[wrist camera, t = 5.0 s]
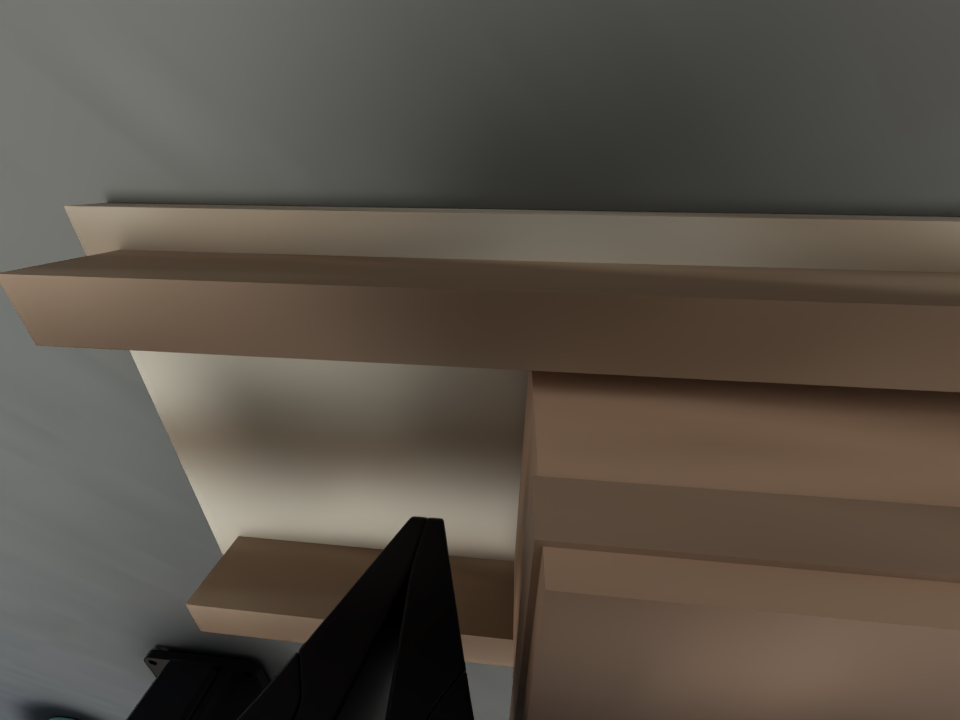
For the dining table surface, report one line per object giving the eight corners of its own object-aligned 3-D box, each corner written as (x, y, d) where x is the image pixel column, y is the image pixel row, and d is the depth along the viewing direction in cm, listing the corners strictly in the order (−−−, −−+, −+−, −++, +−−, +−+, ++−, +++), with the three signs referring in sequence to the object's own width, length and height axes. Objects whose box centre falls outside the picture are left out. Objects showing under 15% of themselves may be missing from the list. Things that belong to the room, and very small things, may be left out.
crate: (830, 591, 12) (1080, 928, 7) (511, 561, 13) (505, 840, 7) (988, 363, 8) (1839, 708, 3) (526, 342, 9) (536, 582, 4)
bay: (1020, 627, 14) (1194, 786, 10) (248, 553, 16) (171, 661, 13) (1479, 225, 7) (2356, 273, 4) (104, 202, 10) (-130, 219, 6)
